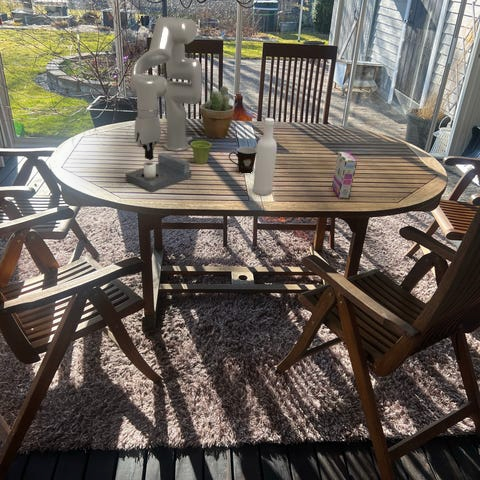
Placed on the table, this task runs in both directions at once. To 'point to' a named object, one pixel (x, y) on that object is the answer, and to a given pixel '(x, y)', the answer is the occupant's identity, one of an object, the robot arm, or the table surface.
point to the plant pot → (200, 151)
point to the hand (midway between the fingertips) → (149, 158)
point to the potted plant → (217, 114)
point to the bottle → (265, 160)
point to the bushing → (149, 170)
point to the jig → (162, 173)
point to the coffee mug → (245, 159)
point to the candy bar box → (344, 174)
